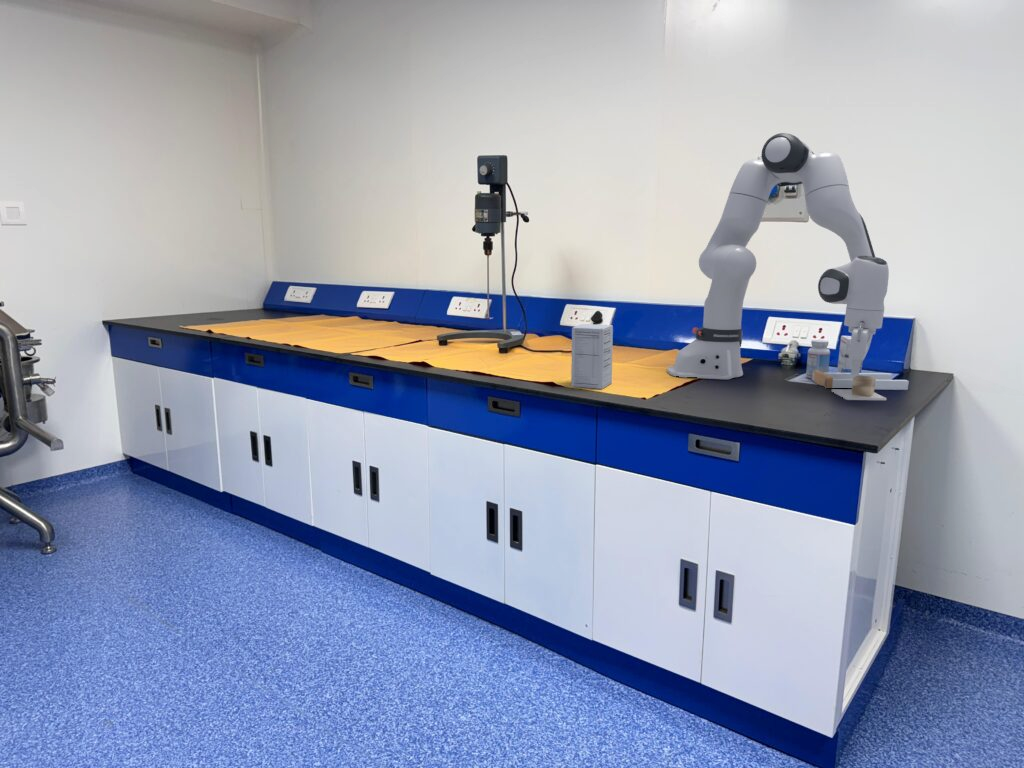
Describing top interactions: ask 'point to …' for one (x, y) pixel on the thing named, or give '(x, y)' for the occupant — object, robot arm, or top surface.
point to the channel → (846, 379)
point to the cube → (863, 385)
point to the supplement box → (592, 356)
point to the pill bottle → (818, 357)
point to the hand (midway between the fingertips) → (856, 372)
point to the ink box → (845, 356)
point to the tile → (848, 395)
